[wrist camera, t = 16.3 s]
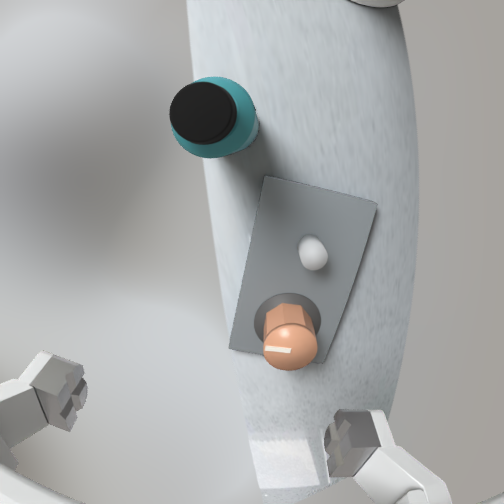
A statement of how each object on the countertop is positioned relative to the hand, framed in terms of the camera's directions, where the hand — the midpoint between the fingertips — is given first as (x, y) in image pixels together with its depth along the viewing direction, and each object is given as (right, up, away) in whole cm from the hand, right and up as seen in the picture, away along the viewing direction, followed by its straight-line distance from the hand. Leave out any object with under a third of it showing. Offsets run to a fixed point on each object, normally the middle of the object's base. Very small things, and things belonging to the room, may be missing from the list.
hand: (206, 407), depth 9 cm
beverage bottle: (-1, +20, +27) cm, 34 cm away
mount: (+7, +1, +33) cm, 34 cm away
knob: (+6, -5, +33) cm, 34 cm away
